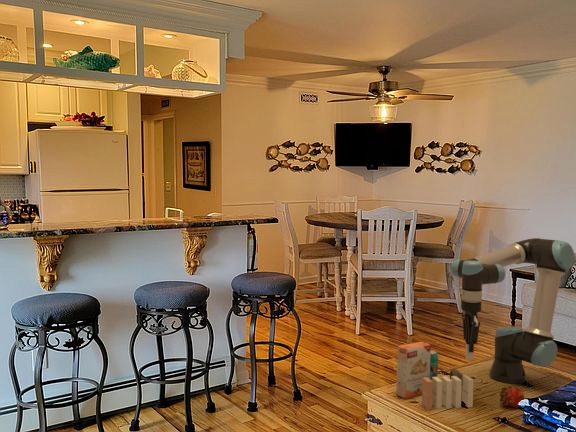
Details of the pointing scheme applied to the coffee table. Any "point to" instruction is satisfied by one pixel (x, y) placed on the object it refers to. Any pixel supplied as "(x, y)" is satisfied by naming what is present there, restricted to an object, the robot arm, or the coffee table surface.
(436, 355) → the beverage can
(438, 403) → the domino
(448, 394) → the domino
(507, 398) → the dragon fruit
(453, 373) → the rhino figurine
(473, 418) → the coffee table surface
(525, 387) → the coffee table surface
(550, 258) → the robot arm
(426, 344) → the cracker box
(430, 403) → the domino
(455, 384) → the domino
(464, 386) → the domino
